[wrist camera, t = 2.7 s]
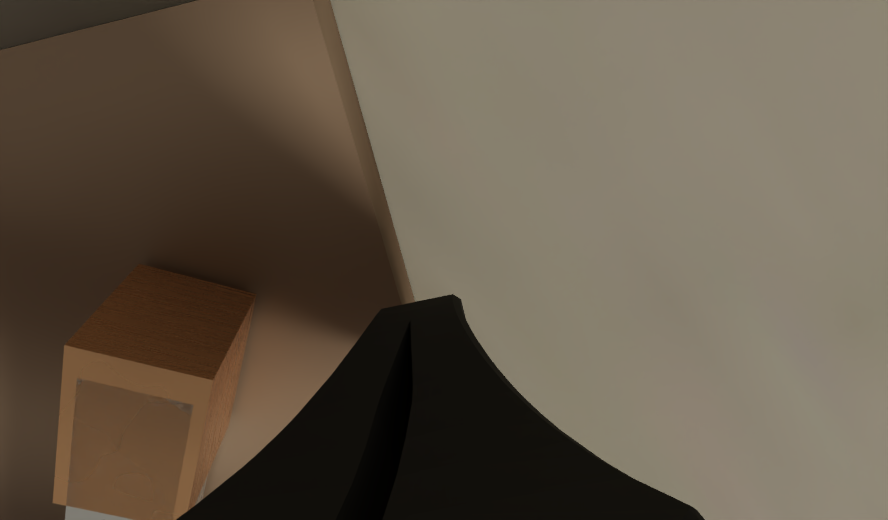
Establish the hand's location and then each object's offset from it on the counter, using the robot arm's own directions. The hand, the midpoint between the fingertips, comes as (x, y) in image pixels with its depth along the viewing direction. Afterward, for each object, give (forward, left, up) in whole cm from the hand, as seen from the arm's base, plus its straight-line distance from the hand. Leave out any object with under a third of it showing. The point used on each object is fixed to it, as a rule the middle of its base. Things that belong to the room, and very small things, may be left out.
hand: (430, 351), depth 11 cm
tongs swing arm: (-4, +7, -1) cm, 8 cm away
